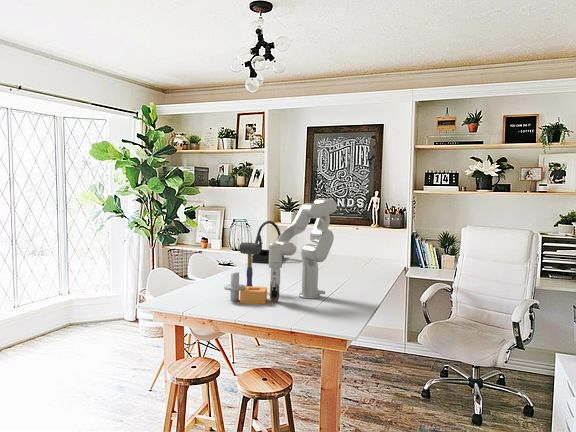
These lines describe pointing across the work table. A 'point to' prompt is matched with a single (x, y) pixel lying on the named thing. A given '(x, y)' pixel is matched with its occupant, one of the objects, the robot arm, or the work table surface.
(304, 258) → the robot arm
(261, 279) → the work table surface
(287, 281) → the work table surface
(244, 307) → the work table surface
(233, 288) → the orange block with cylinder
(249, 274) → the rubber mallet
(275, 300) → the tan wooden block
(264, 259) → the basket
